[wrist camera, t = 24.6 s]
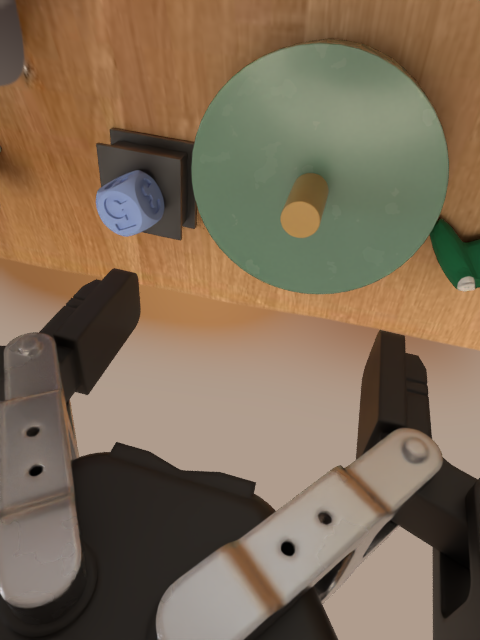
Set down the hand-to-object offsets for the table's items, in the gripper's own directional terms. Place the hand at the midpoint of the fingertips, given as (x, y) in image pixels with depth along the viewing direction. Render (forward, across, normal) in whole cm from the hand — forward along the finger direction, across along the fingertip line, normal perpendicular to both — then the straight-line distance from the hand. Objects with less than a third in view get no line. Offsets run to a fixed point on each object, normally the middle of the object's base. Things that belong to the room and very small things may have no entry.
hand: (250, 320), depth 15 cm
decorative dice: (+23, +14, +8) cm, 28 cm away
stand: (+26, +15, +8) cm, 31 cm away
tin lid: (+21, 0, +4) cm, 21 cm away
